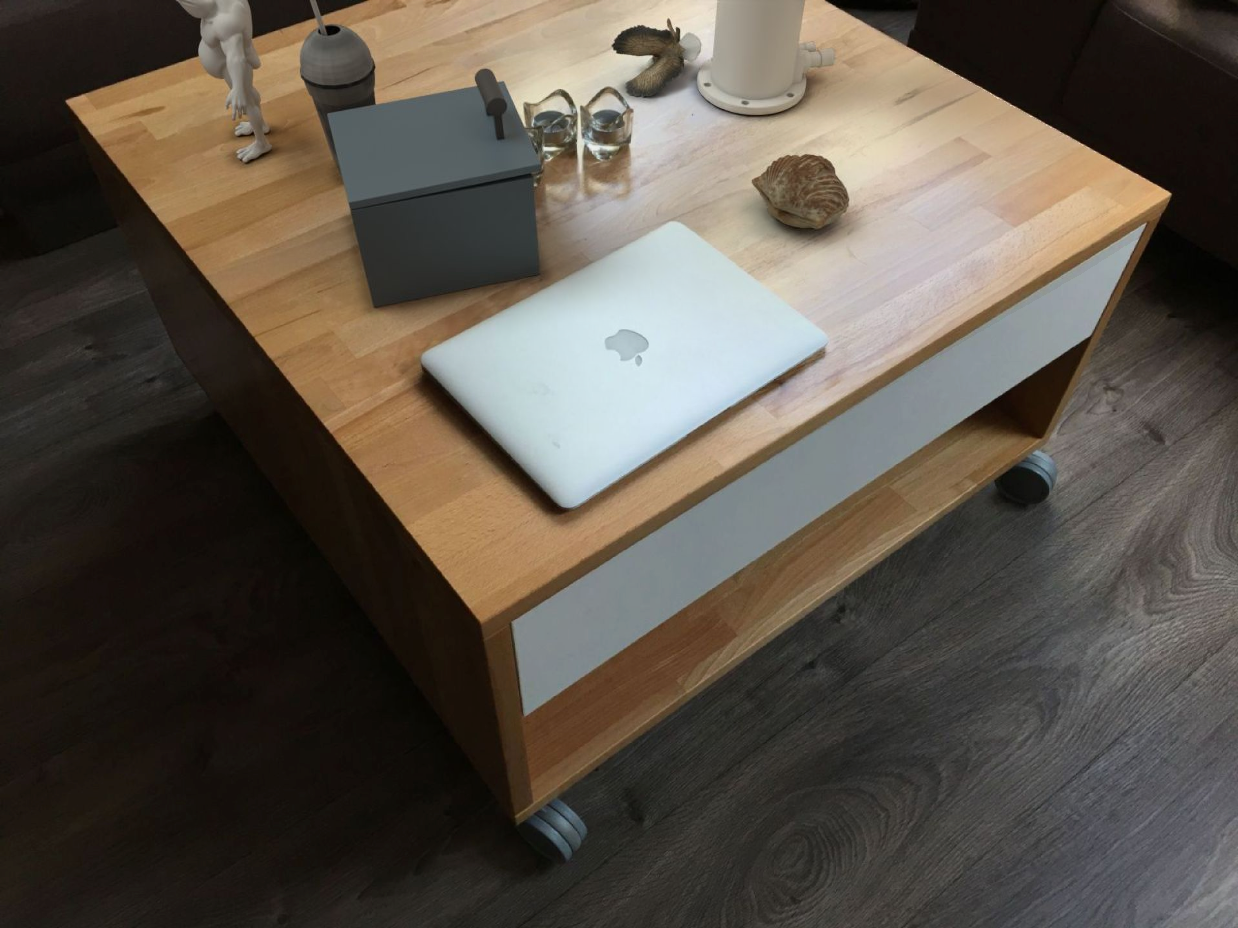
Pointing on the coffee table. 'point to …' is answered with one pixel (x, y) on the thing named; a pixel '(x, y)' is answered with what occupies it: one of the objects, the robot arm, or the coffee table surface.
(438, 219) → the chest
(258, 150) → the figurine
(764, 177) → the seashell
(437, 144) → the lid
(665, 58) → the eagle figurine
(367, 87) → the beverage cup
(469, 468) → the coffee table surface
